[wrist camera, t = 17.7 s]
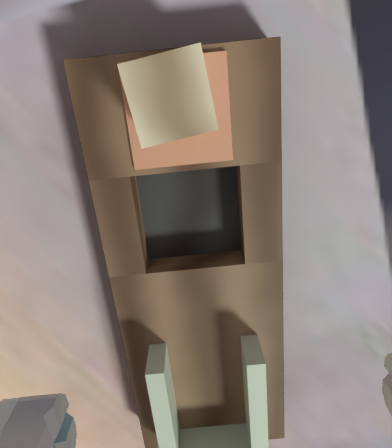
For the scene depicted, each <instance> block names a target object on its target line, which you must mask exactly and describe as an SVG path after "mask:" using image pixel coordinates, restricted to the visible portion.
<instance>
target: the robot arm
mask: <svg viewBox="0 0 392 448" xmlns="http://www.w3.org/2000/svg"><path fill="white" fill-rule="evenodd" d="M384 367H385V368H386V369H387V371H388V372H389V374H388V375H387V376H386V377H385V378H384V379H383V387H382V391H383V396H384V400H385V403H386V405H387V408H388V410H389V412H390V413H391V415H392V353H389V354H387V356H386V357H385V363H384ZM68 405H69V403H68V401H67V398H66V395H65V394H61V393H60V394H50V395H39V396H29V397H22V398H12V399H3V400H2V401H0V448H75V445H76V425H75V422H74V418H73V417H72V416H71V415H69V414H68V413H66V411H67V408H68Z"/></svg>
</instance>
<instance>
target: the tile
mask: <svg viewBox="0 0 392 448" xmlns="http://www.w3.org/2000/svg"><path fill="white" fill-rule="evenodd" d="M203 56H204V61H205V66H206V71H207V75H208V80H209V85H210V90H211V95H212V99H213V104H214V109H215V114H216V119H217V123H218V128H219V130H216V131H212V132H208V133H204V134H200V135H196V136H192V137H187V138H183V139H179V140H175V141H171V142H167V143H163V144H159V145H155V146H151V147H147V148H143V149H141V145H140V142H139V138H138V135H137V132H136V128H135V125H134V121H133V118H132V114H131V111H130V108H129V104H128V101H127V97H126V94H125V90H124V87H123V84H122V80H121V77H120V82H121V88H122V94H123V100H124V107H125V113H126V119H127V125H128V131H129V137H130V143H131V150H132V156H133V162H134V168H135V170H140V169H150V168H160V167H170V166H180V165H190V164H199V163H209V162H219V161H229V160H233V149H232V133H231V116H230V99H229V83H228V66H227V51H218V52H209V53H203ZM124 62H128V61H124ZM124 62H117V63H118V64H120V63H124ZM119 76H120V73H119Z"/></svg>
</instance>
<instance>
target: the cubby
mask: <svg viewBox="0 0 392 448" xmlns="http://www.w3.org/2000/svg"><path fill="white" fill-rule="evenodd" d="M240 337H241V353H242V369H243V384H244V400H245V416H246V423H243V424H232V425H221V426H210V427H199V428H188V429H180V426H179V420H178V413H177V407H176V401H175V394H174V388H173V382H172V375H171V369H170V363H169V356H168V350H167V344H166V343H161V344H151V345H149V351H148V357H147V364H146V370H145V378H146V384H147V389H148V394H149V399H150V404H151V409H152V415H153V420H154V425H155V430H156V435H157V441H158V446H159V448H269V445H268V414H267V384H266V363H265V359H264V356H263V352H262V348H261V345H260V341H259V338H258V334H257V335H247V336H240Z"/></svg>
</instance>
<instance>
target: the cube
mask: <svg viewBox="0 0 392 448" xmlns="http://www.w3.org/2000/svg"><path fill="white" fill-rule="evenodd" d="M117 66H118V70H119V73H120V77H121V80H122V84H123V87H124V90H125V94H126V97H127V101H128V104H129V108H130V111H131V114H132V118H133V121H134V125H135V128H136V132H137V135H138V138H139V142H140V145H141V149H143V148H147V147H151V146H155V145H159V144H163V143H167V142H171V141H175V140H179V139H183V138H187V137H192V136H196V135H200V134H204V133H208V132H212V131H216V130H219V128H218V123H217V119H216V114H215V109H214V104H213V99H212V95H211V90H210V85H209V80H208V75H207V71H206V66H205V61H204V56H203V51H202V47H201V42H200V43H196V44H192V45H189V46H185V47H181V48H177V49H174V50H170V51H166V52H162V53H158V54H155V55H151V56H147V57H143V58H139V59H136V60H132V61H128V62H124V63H120V64H117Z"/></svg>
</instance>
